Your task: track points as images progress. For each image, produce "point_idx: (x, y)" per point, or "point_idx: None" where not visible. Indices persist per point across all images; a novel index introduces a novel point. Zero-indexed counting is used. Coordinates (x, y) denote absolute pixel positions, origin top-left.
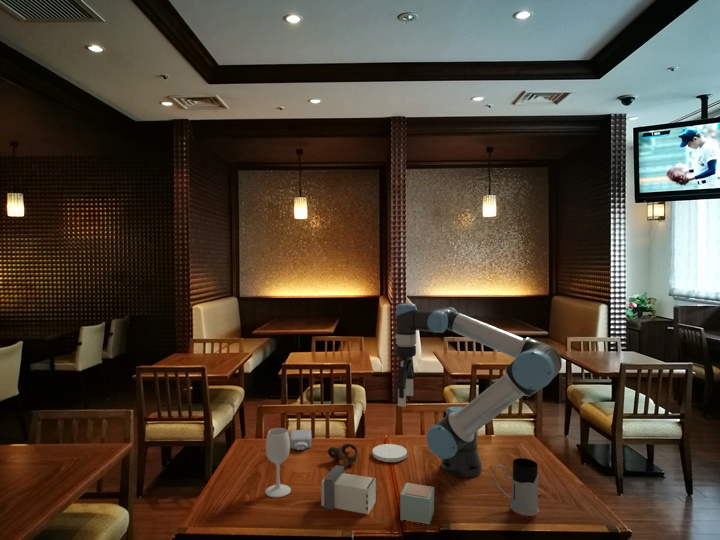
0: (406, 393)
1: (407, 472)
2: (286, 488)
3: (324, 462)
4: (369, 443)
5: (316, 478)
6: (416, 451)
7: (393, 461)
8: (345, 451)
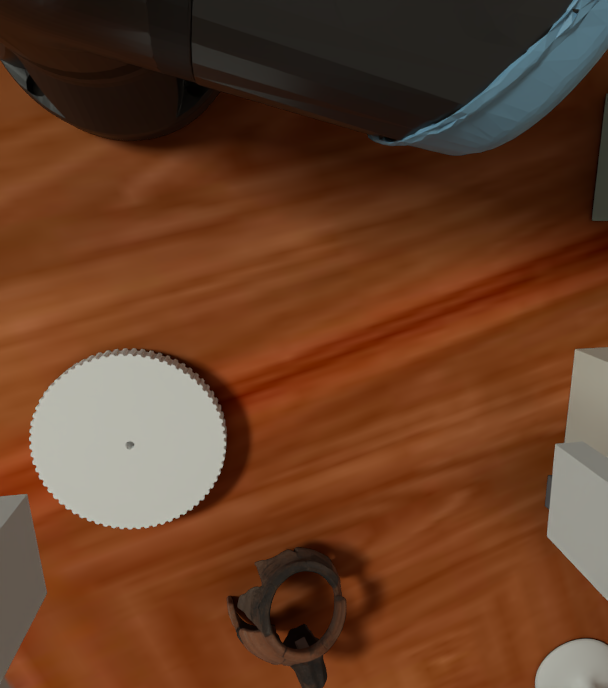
0: (32, 610)
1: (280, 299)
2: (574, 660)
3: None
4: None
5: (455, 614)
6: (6, 320)
7: (213, 393)
8: (238, 624)
